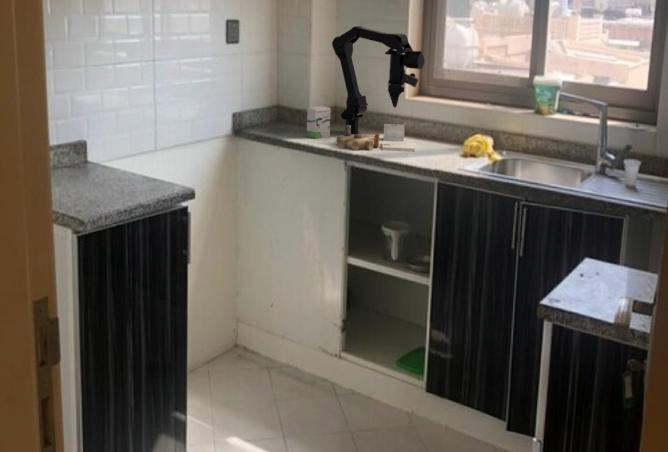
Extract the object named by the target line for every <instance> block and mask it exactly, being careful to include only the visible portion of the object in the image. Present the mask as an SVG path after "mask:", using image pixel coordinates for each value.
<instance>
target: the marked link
mask: <svg viewBox="0 0 668 452" xmlns="http://www.w3.org/2000/svg"><path fill="white" fill-rule="evenodd" d="M404 140H405V124H398V123H384V124H383V139H382V141H385V142H404Z"/></svg>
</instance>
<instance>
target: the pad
mask: <svg viewBox="0 0 668 452" xmlns="http://www.w3.org/2000/svg"><path fill="white" fill-rule="evenodd" d="M381 146H382V150H383V151H399V152H401V151H402V152H415V150H416V149H415V143H414V142H404V141H385V140H382V145H381Z"/></svg>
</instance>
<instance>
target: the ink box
mask: <svg viewBox="0 0 668 452" xmlns="http://www.w3.org/2000/svg"><path fill="white" fill-rule="evenodd" d="M306 115H307V116H306V138H308V139H309V138H310V139H314V140H315V139H323V138H330V136H331V135H330V134H331V133H330V132H331V107H328V106H326V105H325V106H324V105H319V106H308V107H307V114H306Z"/></svg>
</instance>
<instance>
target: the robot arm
mask: <svg viewBox="0 0 668 452" xmlns="http://www.w3.org/2000/svg"><path fill="white" fill-rule="evenodd" d="M360 38H361V39H365V40H368V41H373V42H377V43H381V44H382V45H384V46H386V47H387V48H389V49H388V50H387V51H385V52H384V54H385V55H390V56H389V70H388V71H389V76H388V77H389V78H388V82H387V92H388V94H389V98H390V100H391V104H392V107H393V108H397V106H398V102H399V98H400V95H401V94H402V93H405V84H407V85H409V86H411V87H413V88H417V87H416V86H417V84H418V82H419V78H418V77H416V74H415V73H413V72H411V73H406V69H405V68H407V69H414V70H415V69H416V70H422V69H423V67H424V66H425V57H424V55H423V51H422V50H413V47H412V46H411V44H410V43H409V39H408V37H407V35H406V34H405V33H398V32H397V33H394V32H393V33H390V32H389V33H387V32H384V31H380V30H375V29H372V28H371V29H370V28H367V27H363V26H361V25H358V26H356V25H355V26H353V27H352V28H350V29H349V30H348V31H345V32H344V33H342V34H341V35H340V36H336V37H334V38H333V40H332V41H331V46H332V48H333V51H334V53H335V55H336V56H337V58H338V59H339V62H340V66H341V71H342V74H343V79H344V83H345V89H346V93H347V97H346V102H345V103H346V106H345V107H346V109H345V110H344V111H342V112H341V113H340V116H341V119H342V120H344V126H345V125H351V134H361V133H360V130H359V129H360V127H359V126H360V119H363V117H364V114H365V113H366V112H367V110H368V102H367V97H366V95H362V94H361V92H360V89H359V84H358V81H357V75H356V71H355V67H354V62H353V57H352V56H353V51H354V46H353V45H354V44H356V42H358V40H359V39H360ZM344 131H345V129H343V133H342V135H343V134H344Z"/></svg>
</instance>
